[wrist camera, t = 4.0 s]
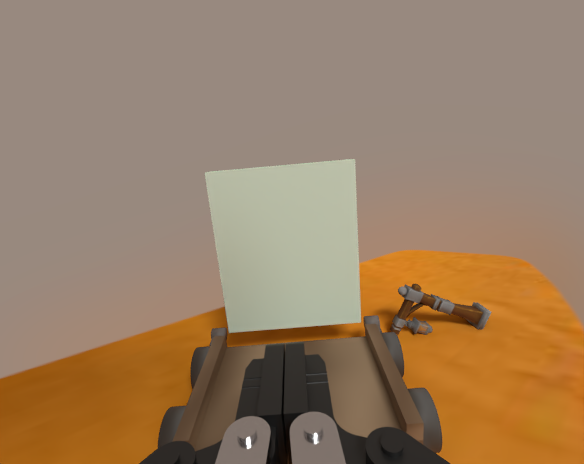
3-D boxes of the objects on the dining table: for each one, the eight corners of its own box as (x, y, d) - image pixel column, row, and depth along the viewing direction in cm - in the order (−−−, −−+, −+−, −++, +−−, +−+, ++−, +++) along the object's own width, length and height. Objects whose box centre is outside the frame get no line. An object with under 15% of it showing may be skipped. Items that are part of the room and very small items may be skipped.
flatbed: (163, 491, 17) (151, 443, 16) (211, 359, 27) (205, 326, 26) (443, 471, 16) (444, 421, 16) (384, 346, 26) (384, 312, 26)
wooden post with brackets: (377, 323, 28) (398, 276, 27) (456, 344, 30) (478, 300, 29) (386, 335, 27) (408, 284, 26) (469, 356, 28) (492, 310, 27)
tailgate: (228, 332, 25) (204, 173, 22) (231, 325, 26) (208, 171, 23) (361, 322, 25) (354, 159, 22) (358, 315, 26) (352, 159, 23)
